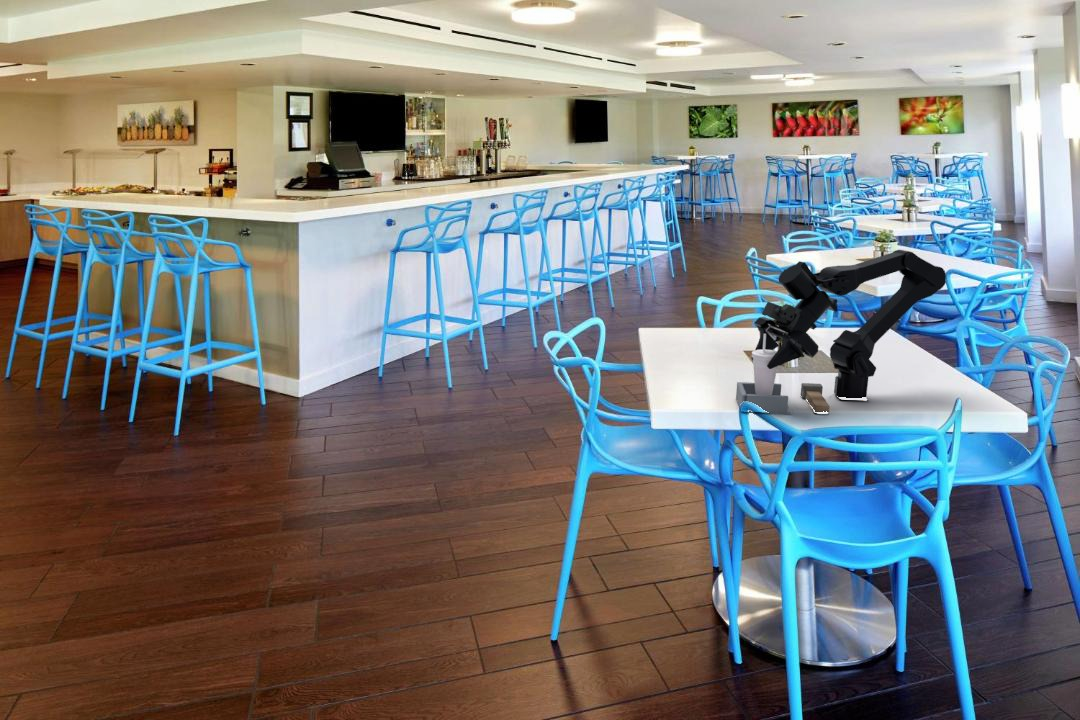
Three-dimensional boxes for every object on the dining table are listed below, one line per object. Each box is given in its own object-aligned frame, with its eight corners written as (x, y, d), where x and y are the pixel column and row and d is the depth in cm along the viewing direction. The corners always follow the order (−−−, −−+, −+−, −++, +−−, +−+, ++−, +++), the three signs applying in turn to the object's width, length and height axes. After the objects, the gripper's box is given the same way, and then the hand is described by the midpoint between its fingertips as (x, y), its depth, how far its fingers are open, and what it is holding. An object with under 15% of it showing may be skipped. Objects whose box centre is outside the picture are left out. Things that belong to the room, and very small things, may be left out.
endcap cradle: (783, 400, 199) (785, 383, 198) (791, 414, 189) (792, 397, 188) (736, 398, 200) (737, 382, 199) (741, 412, 190) (742, 395, 189)
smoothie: (749, 388, 198) (752, 330, 194) (777, 390, 196) (781, 331, 193) (749, 396, 192) (752, 336, 188) (778, 398, 190) (782, 338, 187)
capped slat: (800, 395, 203) (801, 383, 202) (819, 396, 202) (820, 383, 201) (811, 414, 189) (813, 400, 189) (832, 415, 189) (833, 401, 188)
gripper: (763, 282, 198) (719, 332, 197) (810, 297, 180) (761, 351, 180) (791, 313, 202) (747, 362, 202) (839, 330, 185) (791, 383, 184)
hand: (760, 363), depth 192 cm, fingers closed on smoothie, 6 cm apart
